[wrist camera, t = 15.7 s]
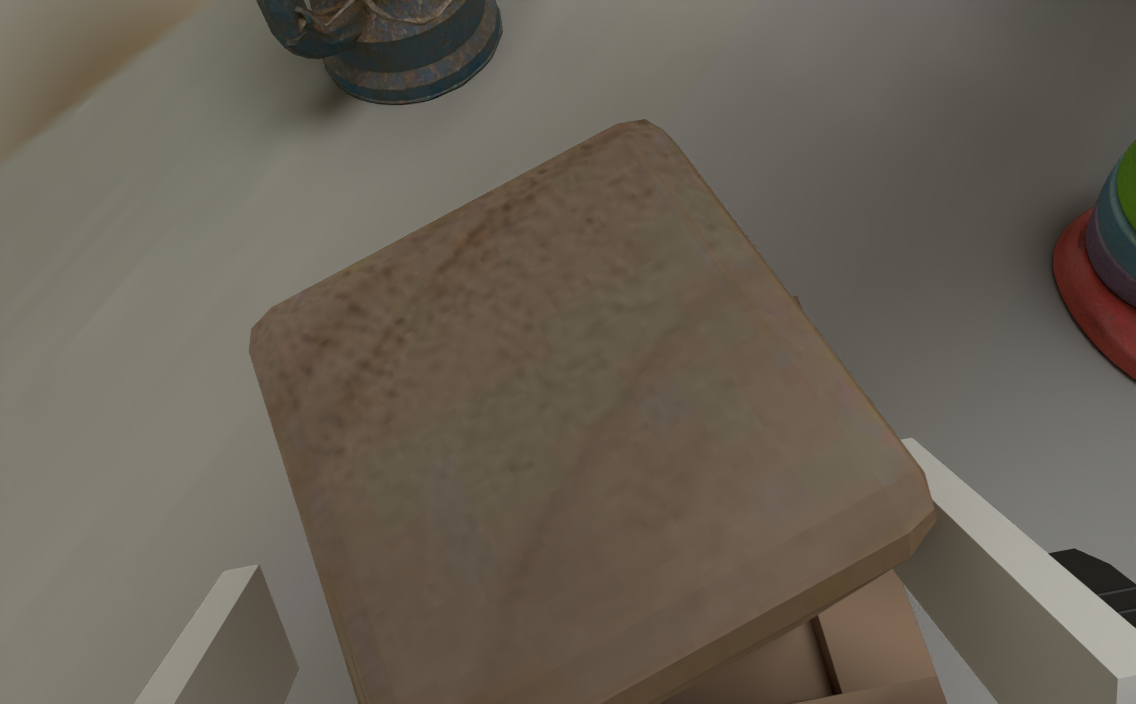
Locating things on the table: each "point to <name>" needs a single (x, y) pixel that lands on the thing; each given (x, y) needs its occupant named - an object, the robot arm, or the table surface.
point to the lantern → (390, 42)
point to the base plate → (762, 675)
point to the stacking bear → (1104, 266)
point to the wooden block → (576, 443)
